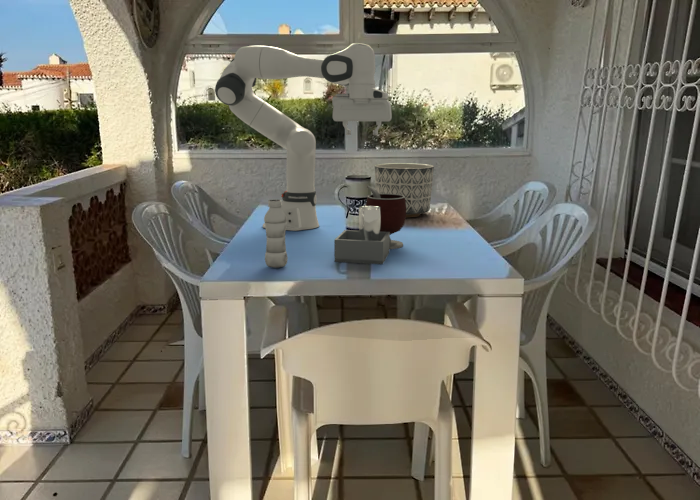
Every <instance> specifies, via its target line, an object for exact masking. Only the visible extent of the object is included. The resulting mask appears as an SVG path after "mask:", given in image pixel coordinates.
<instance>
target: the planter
mask: <svg viewBox="0 0 700 500" xmlns="http://www.w3.org/2000/svg"><path fill="white" fill-rule="evenodd" d="M434 168H435V166H434V165H432V164H428V163H427V164H426V163H416V162H415V163H411V162H409V163H407V162H394V163H393V162H390V163H388V162H387V163H379V164H375V165H374V180H375V181H374V182H375V190H376V191H377V192H378V193H379V194H399V195H404V196H405V201H406V219H407V218H416V217H419V216H420V215H421V214H426V213H428V212H429V211H431V199H432V190H433V178H434V170H435V169H434Z"/></svg>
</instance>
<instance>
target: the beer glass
mask: <svg viewBox="0 0 700 500" xmlns="http://www.w3.org/2000/svg"><path fill="white" fill-rule="evenodd" d="M380 227H381V211H380V207H377V206H366V205H363V206H359V210H358V229H359V230H358V231H360V237H361V240H367V241H378V238H379V233H380Z"/></svg>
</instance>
